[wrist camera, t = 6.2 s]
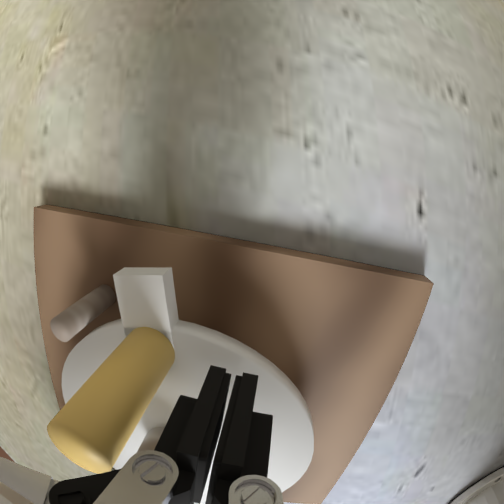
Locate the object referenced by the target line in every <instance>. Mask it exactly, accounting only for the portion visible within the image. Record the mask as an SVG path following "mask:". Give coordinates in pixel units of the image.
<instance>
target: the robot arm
mask: <svg viewBox="0 0 504 504" xmlns="http://www.w3.org/2000/svg"><path fill="white" fill-rule="evenodd" d="M230 380H231V374H229V373H226V368H221V367H217V366H213V365H211V366H210V368H209V371H208V373H207V376H206V378H205V381H204V383H203V386H202V388H201V391H200V393H199V396H198V398H197V399H195V398H192V397H188V396H184V395H180V396H179V398H178V400H177V402H176V404H175V407H174V409H173V411H172V413H171V415H170V417H169V419H168V421H167V424H166V426H165V428H164V430H163V432H162V434H161V436H160V438H159V441H158V443H157V445H156V447H155V449H154V451H152V450H146V451H141V452H138V453H136V454H134V455H133V456H132V457H131V458H130V459H129V460H128V461H127V462H126V464H125V465H124V466H123V467H122V469H118V470H113V471H109V472H105V473H100V474H96V475H91V476H86V477H80V478H75V479H69V480H64V481H61V482H60V481H57V480H54V479H53V478H52V477H51V476H49V475H46V474H43V473H40V472H37V471H35V470H32V469H29V468H27V467H24V466H22V465H19V464H17V463H15V462H12V461H10V460H8V459H5V458H2V457H0V504H194V502H195V503H199V504H200V502H201V499H202V496H203V492H204V489H205V485H206V481H207V478H208V474H209V471H210V467H211V463H212V460H213V456H214V453H215V456H214V460H213V465H212V470H211V476H210V481H209V486H208V492H207V497H206V502H205V504H283V496H282V492H281V489H280V488H279V487H278V485H277V484H276V483H275V482H273V481H272V480H271V479H269V478H267V476H268V466H269V456H270V446H271V435H272V424H273V415H269V414H264V413H258V412H253V407H254V401H255V395H256V389H257V382H258V375H254V374H249V373H244V372H243V375H242V376H239V375H236V377H235V381H234V385H233V389H232V392H231V396H230V400H229V404H228V408H227V411H226V415H225V419H224V423H223V426H222V421H223V416H224V411H225V406H226V401H227V395H228V390H229V385H230ZM221 426H222V430H221ZM220 431H221V434H220ZM219 434H220V437H219ZM218 438H219V441H218ZM217 442H218V445H217ZM216 445H217V448H216ZM215 449H216V452H215ZM450 504H504V467H503V468H501V469H499V470H497V471H495V472H494V473H492V474H490V475H488V476H487V477H485V478H484V479H482V480H480V481H479V482H477V483H476V484H475V485H473V486H472V487H470V488H469V489H467V490H466V491H465V492H463V493H462V494H461V495H459V496H458V497H457V498H456V499H454V500H453V501H452V502H451V503H450Z"/></svg>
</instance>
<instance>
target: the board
mask: <svg viewBox="0 0 504 504" xmlns="http://www.w3.org/2000/svg"><path fill="white" fill-rule="evenodd" d="M34 257H35V273H36V285H37V295H38V304H39V312H40V319H41V326H42V332H43V338H44V344H45V349H46V354H47V359H48V364H49V369H50V373H51V377H52V382H53V386H54V389H55V393H56V397H57V401H58V404H59V408H60V410H61V409H62V408H63V407H64V405H65V401H64V397H63V392H62V371H63V367H64V363H65V361H66V359H67V357H68V355H69V353H70V352H71V351H72V349H73V348H74V347H75V346H76V345H77V344H78V343H79V342H80V341H81V340H82V339H83V338H85V337H86V336H87V335H88V334H89V333H91V332H92V331H93V330H94V329H96V328H98V327H100V326H102V325H104V324H106V323H108V322H111V321H115V320H118V319H121V315H120V310H119V305H118V300H117V295H116V289H115V284H114V278H113V274H115V273H117V272H118V271H120V270H121V269H123V268H124V267H156V268H165V267H172V273H173V281H174V289H175V296H176V304H177V311H178V318H179V320H182V321H186V322H191V323H195V324H198V325H201V326H204V327H207V328H210V329H213V330H216V331H218V332H221V333H223V334H225V335H227V336H230V337H232V338H234V339H236V340H238V341H240V342H242V343H243V344H245V345H247V346H249V347H250V348H252V349H254V350H256V351H257V352H258V353H260V354H261V355H263V356H264V357H265V358H267V359H268V360H270V361H271V362H272V363H273V364H275V365H276V366H277V367H278V368H279V369H280V370H281V371H282V372H283V373H285V374H286V375H287V377H288V378H289V379H290V380H291V381H292V382H293V384H294V385H295V386H296V387H297V388H298V390H299V391H300V393H301V395H302V396H303V398H304V399H305V401H306V403H307V406H308V408H309V411H310V413H311V417H312V422H313V432H314V452H313V456H312V460H311V463H310V465H309V467H308V469H307V470H306V472H305V473H304V474H303V476H302V477H301V478H300V479H299V480H298V481H297V482H296V483H295V484H294V485H293V486H291V487H290V488H288V489H287V490H285V491H284V492H282V496H283V502H290V503H303V504H321V503H322V502H323V500H324V499H325V497H326V496H327V495H328V493H329V492H330V491H331V489H332V488H333V486H334V485H335V484H336V482H337V481H338V479H339V478H340V476H341V475H342V473H343V472H344V470H345V469H346V467H347V466H348V464H349V463H350V461H351V459H352V458H353V456H354V455H355V453H356V452H357V450H358V448H359V447H360V445H361V443H362V442H363V440H364V438H365V437H366V435H367V433H368V431H369V430H370V428H371V426H372V424H373V423H374V421H375V419H376V417H377V415H378V413H379V412H380V410H381V408H382V406H383V404H384V402H385V400H386V398H387V396H388V394H389V392H390V390H391V388H392V386H393V384H394V382H395V380H396V378H397V376H398V373H399V371H400V369H401V367H402V365H403V362H404V360H405V358H406V356H407V353H408V351H409V349H410V346H411V344H412V341H413V339H414V336H415V334H416V331H417V329H418V326H419V324H420V321H421V318H422V316H423V313H424V310H425V307H426V305H427V302H428V299H429V296H430V293H431V290H432V287H433V284H434V283H432V282H431V281H430V280H429V279H428V278H427V277H425V276H423V275H418V274H413V273H408V272H403V271H399V270H394V269H389V268H384V267H379V266H374V265H369V264H364V263H359V262H354V261H348V260H343V259H338V258H333V257H328V256H323V255H318V254H313V253H308V252H303V251H297V250H292V249H287V248H282V247H277V246H271V245H266V244H261V243H256V242H250V241H245V240H240V239H235V238H229V237H224V236H219V235H213V234H208V233H203V232H197V231H192V230H186V229H181V228H175V227H170V226H165V225H159V224H154V223H148V222H143V221H137V220H132V219H126V218H120V217H115V216H109V215H104V214H98V213H92V212H87V211H81V210H75V209H70V208H64V207H58V206H52V205H42V206H37V207H34ZM164 428H165V427H155V428H152V429H150V430H149V431H148V432H147V434H146V436H145V438H144V440H143V442H142V443H141V445H140V447H139V449H138V451H137V453H138V452H141V451H146V450H152V451H154V449H155V447H156V445H157V443H158V441H159V438H160V436H161V434H162V432H163V430H164Z"/></svg>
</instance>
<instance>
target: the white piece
mask: <svg viewBox="0 0 504 504" xmlns="http://www.w3.org/2000/svg"><path fill="white" fill-rule="evenodd" d="M113 278H114V284H115V289H116V295H117V300H118V305H119V310H120V315H121V319H118V320H115V321H111V322H108V323H106V324H104V325H102V326H100V327H98V328H96V329H94V330H93V331H92V332H91V333H89V334H88V335H87V336H86V337H85V338H83V339H82V340H81V341H80V342H79V343H78V344H77V345H76V346H75V347H74V348H73V349H72V351H71V352H70V353H69V355H68V357H67V359H66V361H65V363H64V367H63V371H62V392H63V397H64V401H65V405H64V407H63V408H62V409H61V410H60V411H59V412H58V413H57V415H56V416H55V417H54V418H53V419H52V420H51V422H50V423H49V424H48V426H47V431H48V434H49V436H50V438H51V440H52V442H53V443H54V444H55V446H56V447H57V448H58V449H59V450H60V451H61V452H62V453H63V454H64V455H65V456H66V457H67V458H68V459H70V460H71V461H72V462H74V463H75V464H77V465H78V466H80V467H82V468H84V469H86V470H88V471H91V472H94V473H98V474H100V473H105V472H109V471H111V469H112V467H113V468H115V469H116V470H118V469H122V467H123V466H124V465H125V464H126V462H127V461H128V460H129V459H130V458H131V457H132V456H133V455H134V454H136V453H137V451H138V449H139V447H140V445H141V443H142V442H143V440H144V438H145V436H146V434H147V432H148V431H149V430H150V429H152V428H155V427H165V426H166V424H167V421H168V419H169V417H170V415H171V413H172V411H173V409H174V407H175V404H176V402H177V400H178V398H179V396H180V395H184V396H188V397H192V398H195V399H197V398H198V396H199V393H200V391H201V388H202V386H203V383H204V381H205V378H206V376H207V373H208V371H209V368H210V366H211V365H213V366H217V367H221V368H226V373H229V374H231V380H230V385H229V390H228V395H227V401H226V406H225V411H224V416H223V421H222V426H223V423H224V419H225V415H226V411H227V408H228V404H229V400H230V396H231V392H232V389H233V385H234V381H235V377H236V375H239V376H242V375H243V372H244V373H249V374H254V375H258V382H257V389H256V395H255V401H254V407H253V412H258V413H264V414H269V415H273V424H272V435H271V446H270V456H269V466H268V476H267V478H269V479H271V480H272V481H273V482H275V483H276V484H277V485H278V487H279V488H280V489H281V492H284V491H285V490H287V489H288V488H290V487H291V486H293V485H294V484H295V483H296V482H297V481H298V480H299V479H300V478H301V477H302V476H303V474H304V473H305V472H306V470H307V469H308V467H309V465H310V463H311V460H312V456H313V452H314V432H313V422H312V417H311V413H310V411H309V408H308V406H307V403H306V401H305V399H304V398H303V396H302V395H301V393H300V391H299V390H298V388H297V387H296V386H295V385H294V384H293V382H292V381H291V380H290V379H289V378H288V377H287V375H286V374H285V373H283V372H282V371H281V370H280V369H279V368H278V367H277V366H276V365H275V364H273V363H272V362H271V361H270V360H268V359H267V358H265V357H264V356H263V355H261V354H260V353H258V352H257V351H256V350H254V349H252V348H250V347H249V346H247V345H245V344H243V343H242V342H240V341H238V340H236V339H234V338H232V337H230V336H227V335H225V334H223V333H221V332H218V331H216V330H213V329H210V328H207V327H204V326H201V325H198V324H195V323H191V322H186V321H182V320H179V318H178V311H177V304H176V296H175V289H174V281H173V273H172V267H165V268H156V267H124V268H123V269H121V270H120V271H118V272H117V273H115V274H113ZM222 426H221V430H222ZM220 434H221V431H220ZM220 434H219V437H220ZM218 441H219V438H218ZM217 445H218V442H217ZM217 445H216V448H217ZM215 452H216V449H215ZM214 456H215V453H214ZM214 456H213V460H214ZM213 460H212V463H211V467H210V471H209V474H208V478H207V481H206V485H205V489H204V492H203V496H202V499H201V502H200V504H205V502H206V497H207V492H208V486H209V481H210V476H211V470H212V465H213ZM194 503H195V502H194ZM197 504H199V503H197Z"/></svg>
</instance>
